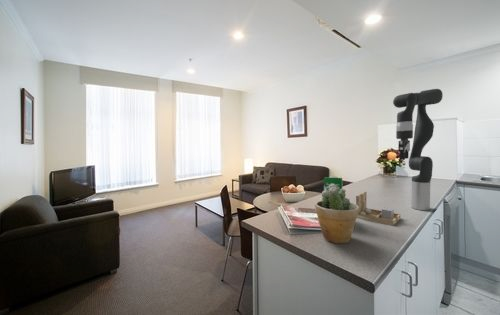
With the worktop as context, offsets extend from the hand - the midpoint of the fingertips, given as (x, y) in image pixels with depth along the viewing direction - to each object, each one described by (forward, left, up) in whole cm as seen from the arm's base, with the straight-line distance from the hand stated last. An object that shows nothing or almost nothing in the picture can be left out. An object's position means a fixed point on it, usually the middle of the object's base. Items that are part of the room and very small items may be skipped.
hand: (404, 159), depth 120 cm
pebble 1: (+18, -16, -31) cm, 39 cm away
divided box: (+14, -9, -33) cm, 37 cm away
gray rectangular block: (+14, -4, -32) cm, 36 cm away
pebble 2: (+10, -16, -31) cm, 36 cm away
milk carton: (+32, -26, -33) cm, 53 cm away
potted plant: (+53, -15, -33) cm, 64 cm away
